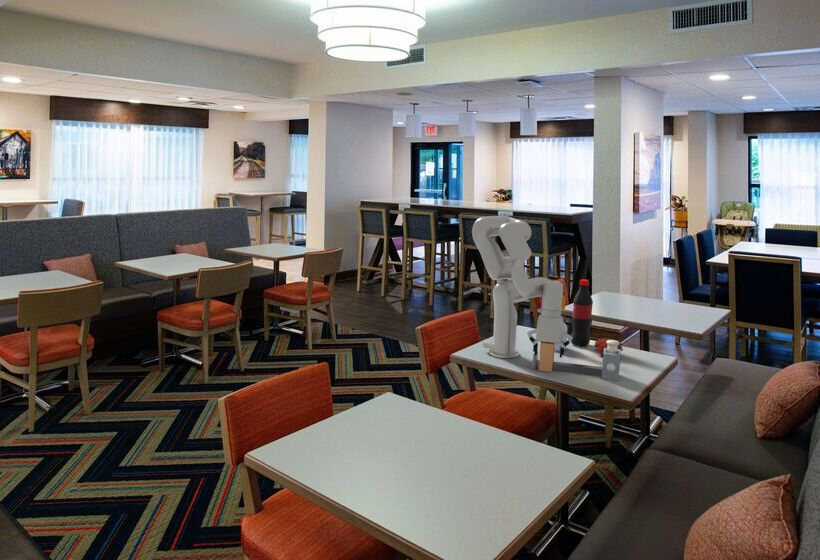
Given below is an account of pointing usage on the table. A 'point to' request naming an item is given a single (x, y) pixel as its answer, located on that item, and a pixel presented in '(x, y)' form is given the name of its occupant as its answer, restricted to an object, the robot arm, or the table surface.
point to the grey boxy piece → (611, 365)
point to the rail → (570, 367)
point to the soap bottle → (557, 345)
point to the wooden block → (546, 356)
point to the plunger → (612, 346)
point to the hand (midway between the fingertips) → (548, 355)
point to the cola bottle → (582, 315)
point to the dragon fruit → (603, 345)
